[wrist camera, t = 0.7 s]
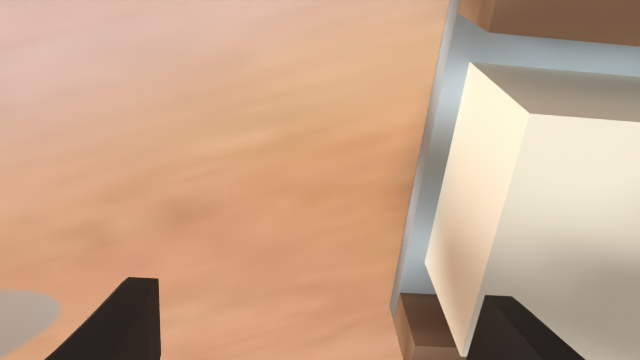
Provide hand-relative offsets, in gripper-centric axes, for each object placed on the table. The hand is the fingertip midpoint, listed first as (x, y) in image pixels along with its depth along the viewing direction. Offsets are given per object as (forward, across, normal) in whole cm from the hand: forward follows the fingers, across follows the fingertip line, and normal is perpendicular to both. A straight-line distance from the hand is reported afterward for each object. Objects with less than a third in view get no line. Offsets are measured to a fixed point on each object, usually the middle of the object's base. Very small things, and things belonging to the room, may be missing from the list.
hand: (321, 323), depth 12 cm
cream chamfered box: (+8, -9, 0) cm, 12 cm away
